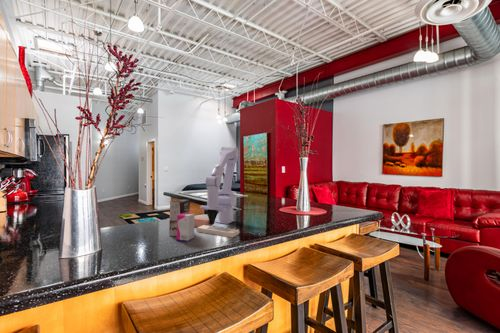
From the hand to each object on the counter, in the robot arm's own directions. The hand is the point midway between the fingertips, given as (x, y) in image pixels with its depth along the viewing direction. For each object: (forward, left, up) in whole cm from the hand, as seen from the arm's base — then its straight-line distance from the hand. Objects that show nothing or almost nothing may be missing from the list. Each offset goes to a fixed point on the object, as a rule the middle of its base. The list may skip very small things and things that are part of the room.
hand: (212, 224), depth 138 cm
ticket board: (+6, +7, -2) cm, 10 cm away
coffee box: (+17, -8, -2) cm, 19 cm away
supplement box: (+23, 0, -2) cm, 23 cm away
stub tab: (0, -7, -2) cm, 7 cm away
